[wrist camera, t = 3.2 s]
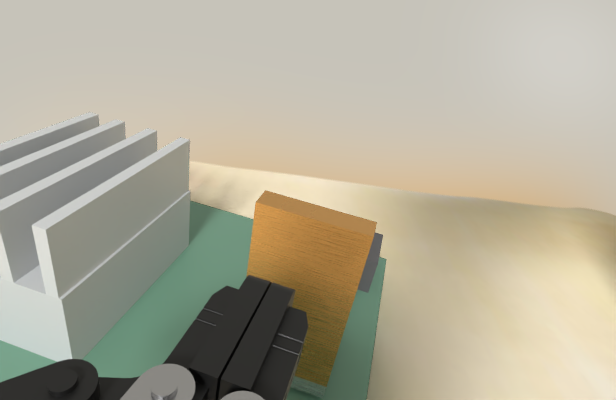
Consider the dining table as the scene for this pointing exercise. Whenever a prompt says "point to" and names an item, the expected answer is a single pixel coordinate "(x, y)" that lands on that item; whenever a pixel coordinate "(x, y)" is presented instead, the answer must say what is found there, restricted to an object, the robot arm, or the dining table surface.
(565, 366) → the dining table surface
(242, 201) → the dining table surface
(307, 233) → the upright wooden plank
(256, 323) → the robot arm
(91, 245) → the heatsink board
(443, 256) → the dining table surface
